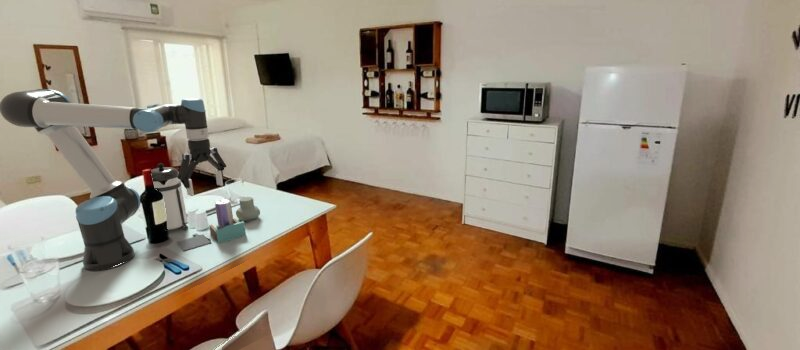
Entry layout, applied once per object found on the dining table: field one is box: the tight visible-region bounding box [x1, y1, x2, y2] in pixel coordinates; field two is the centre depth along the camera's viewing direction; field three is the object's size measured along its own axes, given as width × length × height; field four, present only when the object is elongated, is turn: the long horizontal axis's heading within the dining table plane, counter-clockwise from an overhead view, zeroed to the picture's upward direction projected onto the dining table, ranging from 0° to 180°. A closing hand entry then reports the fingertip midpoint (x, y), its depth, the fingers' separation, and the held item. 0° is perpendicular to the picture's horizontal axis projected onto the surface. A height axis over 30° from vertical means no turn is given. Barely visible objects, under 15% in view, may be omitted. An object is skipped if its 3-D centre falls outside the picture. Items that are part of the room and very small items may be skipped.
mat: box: [176, 234, 212, 252], centre depth 152 cm, size 10×10×1 cm
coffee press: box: [150, 162, 189, 231], centre depth 161 cm, size 17×16×30 cm
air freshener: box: [235, 196, 261, 222], centre depth 173 cm, size 11×8×10 cm
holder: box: [208, 217, 240, 242], centre depth 159 cm, size 11×9×4 cm
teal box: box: [216, 220, 247, 244], centre depth 154 cm, size 11×2×7 cm, turn 132°
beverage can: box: [214, 198, 234, 227], centre depth 157 cm, size 6×6×15 cm
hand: (206, 189), depth 151 cm, fingers open, 13 cm apart
